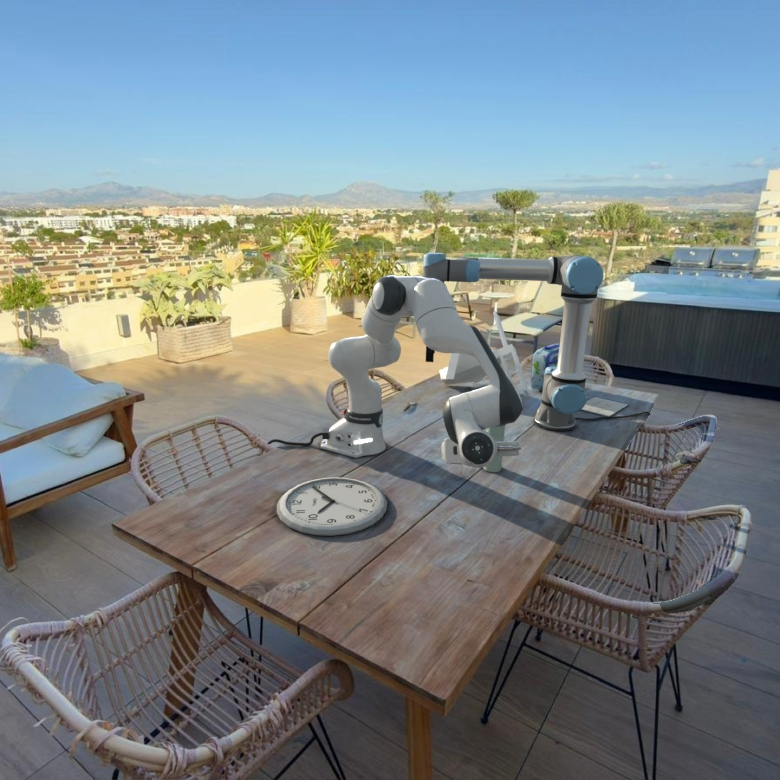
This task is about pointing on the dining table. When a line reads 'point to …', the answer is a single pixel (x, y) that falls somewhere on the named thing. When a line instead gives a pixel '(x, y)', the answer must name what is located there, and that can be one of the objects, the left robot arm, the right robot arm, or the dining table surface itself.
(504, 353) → the white plastic object
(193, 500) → the dining table surface
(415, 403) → the fork
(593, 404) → the invitation card
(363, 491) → the wall clock
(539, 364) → the lunch box
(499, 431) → the jar
